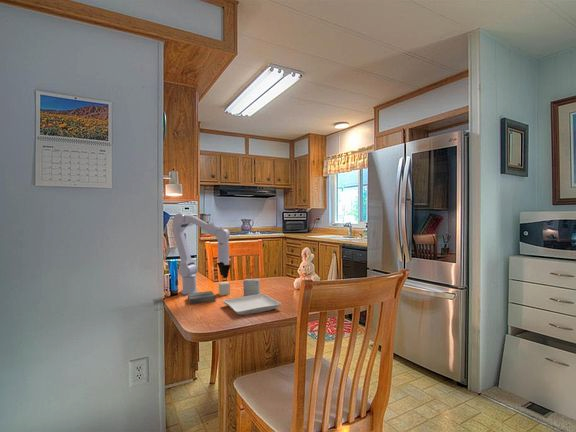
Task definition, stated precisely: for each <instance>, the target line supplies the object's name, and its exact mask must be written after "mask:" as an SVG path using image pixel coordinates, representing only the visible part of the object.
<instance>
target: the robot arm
mask: <svg viewBox="0 0 576 432" xmlns="http://www.w3.org/2000/svg"><path fill="white" fill-rule="evenodd" d="M171 221H172V228H171V229H172V235H173V237H174V241H175V244H176V248H177V252H178V255H179V259H180V262H179V265H178V266H179V275H180V276H181V278H182V279H181V281H182V289H181V290H180V292H181V294H182V295H184V296H185V295H188V294H190V293H199V292H198V290H197V273H198V270H199V268H198V267H199V266H198V265H197V264H196V262H195V259H193V258H192V256H191V253H190V250H189V246H188V243H187V240H186V237H185V233H184V232H185V229H186V228H187V227H188V226H189V225H191V224H192V225H195V226H198V227H200V228H202V229H204V231H205V232H206V233H207V234H210V235H211V236H213V237H215V239H217V261H218V262H216V265H217V266H218V270H219V275H220V276H222V278H223V279H226V278H228V276H229V273H230V272H229V271H230V268H231V266H232V264H230V263H229V262H230V261H232V258H230V249H229V246H230V245H229V238H230V236H231V232H230V230H229V229H227V228H223V227H222V226H218V225H216V223H215V222H206V221H204V220H202V219H200V218H199V217H197V216H195V215H193V214H191V213H186V212H185V213H179V212H178V213H176V214H175V215H174V216H173V218H172V219H171Z"/></svg>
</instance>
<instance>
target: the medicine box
mask: <svg viewBox="0 0 576 432" xmlns="http://www.w3.org/2000/svg"><path fill="white" fill-rule="evenodd" d="M260 281H261V280H260V278H245V279H244V280H243V282H242V283H243V285H242V286H243V297H244V296H250V295H257V294H261V286H260V285H261V282H260Z"/></svg>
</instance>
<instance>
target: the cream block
mask: <svg viewBox="0 0 576 432" xmlns="http://www.w3.org/2000/svg"><path fill="white" fill-rule="evenodd" d="M218 295H220V296H227V295H231V283H230V282H229V281H219V282H218Z"/></svg>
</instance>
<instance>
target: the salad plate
mask: <svg viewBox="0 0 576 432" xmlns="http://www.w3.org/2000/svg"><path fill="white" fill-rule="evenodd" d="M222 302H223V303H224V305H226V306H228V307H229V308H230V309H231V310H232V311H234V313H235V314H237V315H238V316H246V314H247V315H252V314H256V313H257V314H258V313H262V312H263V313H264V312H268V311H271V310H275V309H277V308H279V307H281V306H282V303H281V302H280V301H278V300H276V299H274V298H272V297H271V296H269V295H267V294H265V293H260V294H257V295H250V296H244V295H243V296H240V297H234V298H228V299H223V300H222Z"/></svg>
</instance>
